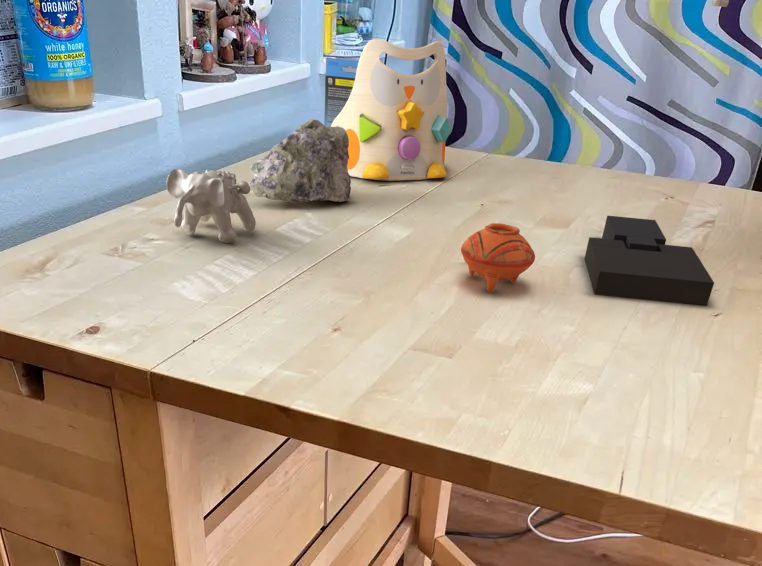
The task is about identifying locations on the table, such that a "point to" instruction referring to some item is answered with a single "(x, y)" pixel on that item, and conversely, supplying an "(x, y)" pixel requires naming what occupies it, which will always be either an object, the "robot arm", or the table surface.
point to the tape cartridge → (337, 87)
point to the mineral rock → (305, 166)
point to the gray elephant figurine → (210, 201)
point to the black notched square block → (647, 272)
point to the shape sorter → (397, 116)
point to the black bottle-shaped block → (634, 232)
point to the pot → (497, 254)
